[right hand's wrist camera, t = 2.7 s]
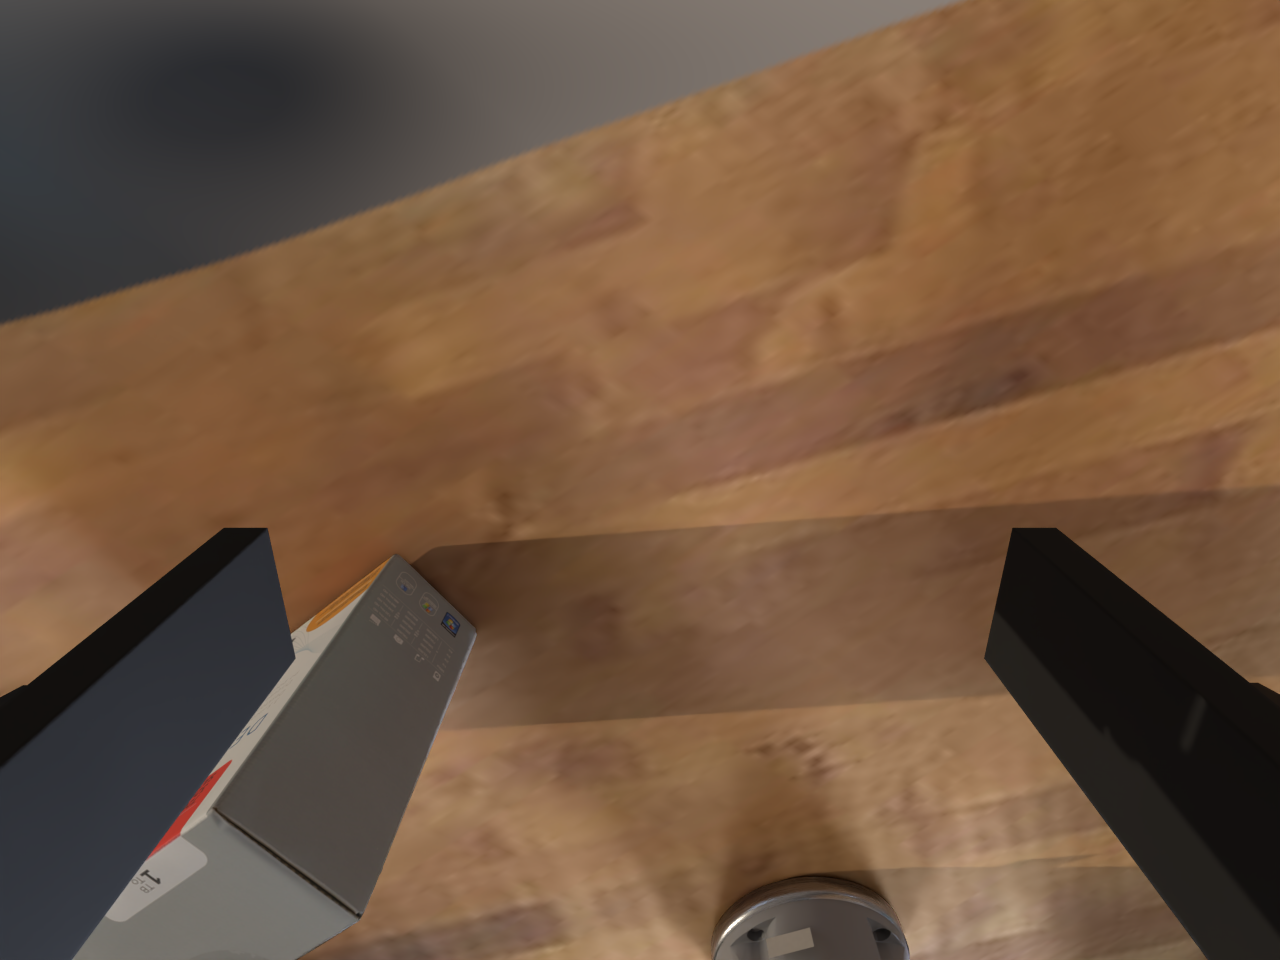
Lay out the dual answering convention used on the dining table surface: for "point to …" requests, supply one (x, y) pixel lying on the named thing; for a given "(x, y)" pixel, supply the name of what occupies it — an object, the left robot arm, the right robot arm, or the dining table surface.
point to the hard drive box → (303, 788)
